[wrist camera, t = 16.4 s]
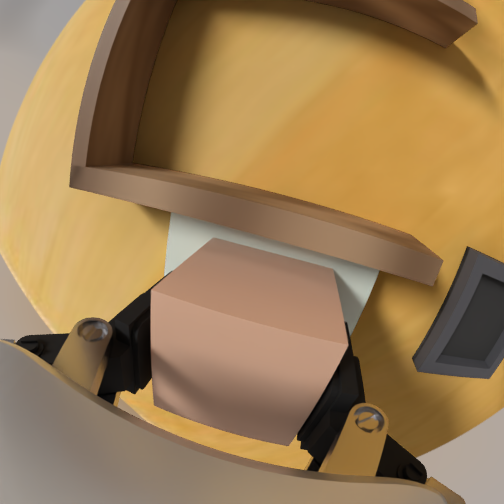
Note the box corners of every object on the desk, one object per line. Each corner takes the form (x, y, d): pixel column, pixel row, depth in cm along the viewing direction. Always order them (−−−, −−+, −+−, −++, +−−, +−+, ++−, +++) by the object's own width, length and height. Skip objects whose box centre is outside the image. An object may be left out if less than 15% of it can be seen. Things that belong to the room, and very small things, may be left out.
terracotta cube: (333, 268, 11) (348, 345, 6) (298, 360, 12) (288, 446, 8) (213, 237, 11) (151, 289, 6) (199, 333, 13) (154, 405, 8)
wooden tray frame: (445, 34, 7) (475, 8, 4) (404, 255, 11) (432, 286, 8) (168, -13, 9) (137, -40, 5) (115, 179, 13) (69, 187, 10)
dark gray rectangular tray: (531, 277, 9) (541, 285, 8) (482, 368, 12) (489, 378, 11) (467, 246, 10) (478, 253, 9) (412, 358, 13) (417, 371, 12)
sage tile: (376, 245, 11) (384, 256, 10) (319, 374, 14) (319, 393, 13) (187, 194, 12) (173, 198, 11) (171, 330, 15) (160, 344, 14)
